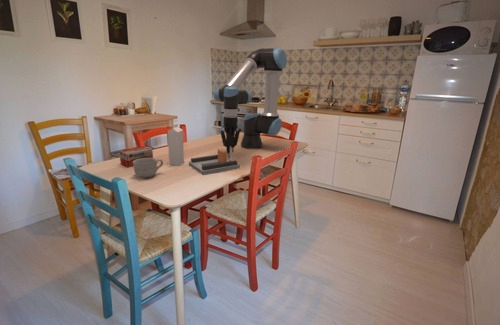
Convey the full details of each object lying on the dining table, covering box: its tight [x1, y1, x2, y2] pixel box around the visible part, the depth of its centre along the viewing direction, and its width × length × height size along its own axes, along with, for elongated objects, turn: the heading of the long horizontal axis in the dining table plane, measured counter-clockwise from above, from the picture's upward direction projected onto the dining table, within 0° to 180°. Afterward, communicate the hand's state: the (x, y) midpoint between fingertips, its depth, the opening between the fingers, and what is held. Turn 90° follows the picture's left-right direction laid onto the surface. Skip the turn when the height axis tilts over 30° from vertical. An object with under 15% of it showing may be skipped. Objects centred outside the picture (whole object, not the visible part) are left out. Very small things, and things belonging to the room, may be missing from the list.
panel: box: [188, 157, 241, 176], centre depth 155 cm, size 22×18×2 cm
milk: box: [167, 123, 185, 167], centre depth 154 cm, size 6×6×22 cm
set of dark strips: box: [190, 154, 238, 170], centre depth 154 cm, size 20×16×2 cm
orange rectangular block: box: [217, 147, 228, 162], centre depth 156 cm, size 3×6×7 cm, turn 34°
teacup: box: [133, 157, 164, 179], centre depth 138 cm, size 14×11×8 cm
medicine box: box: [119, 145, 154, 168], centre depth 155 cm, size 15×8×8 cm, turn 141°
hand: (229, 158), depth 160 cm, fingers closed
